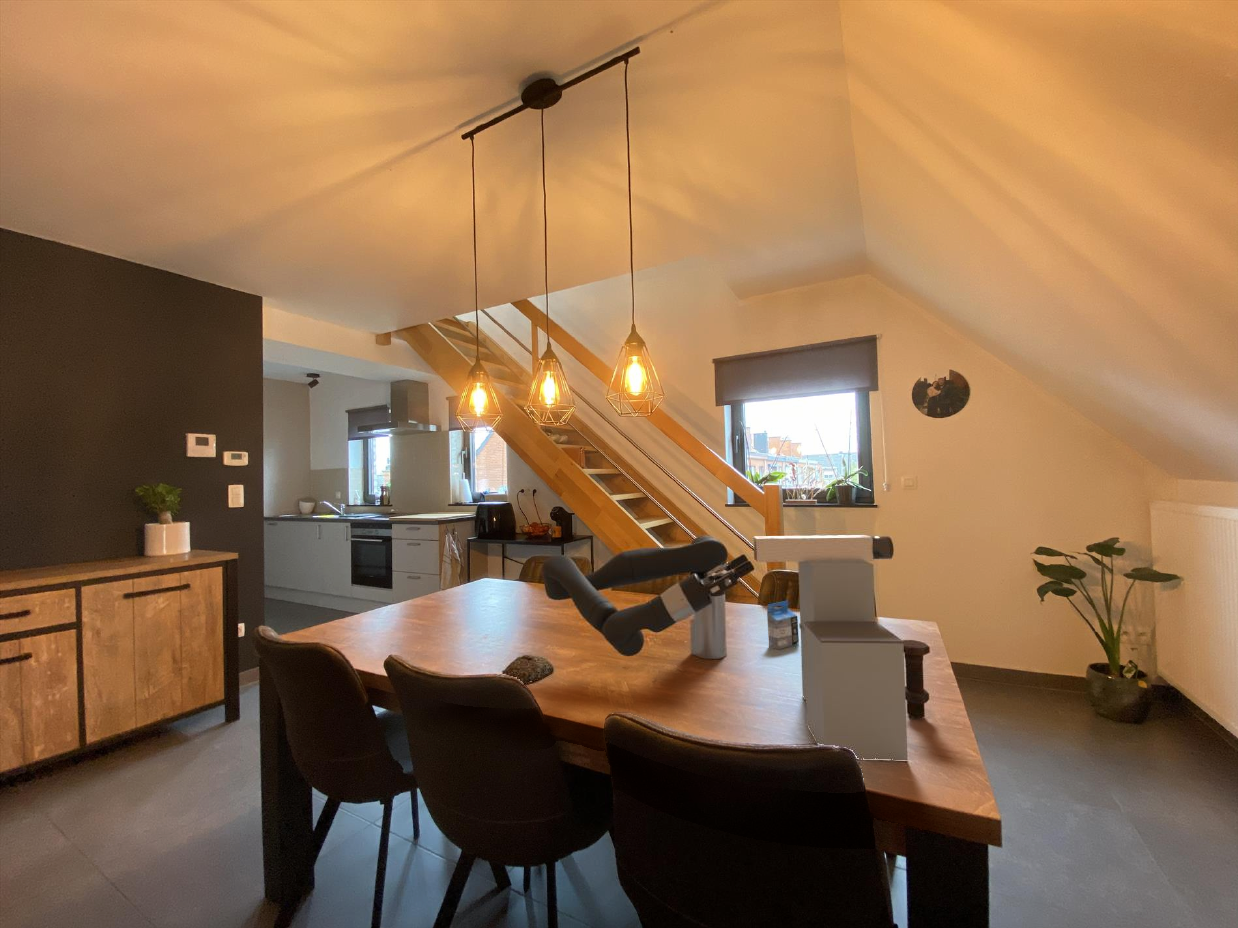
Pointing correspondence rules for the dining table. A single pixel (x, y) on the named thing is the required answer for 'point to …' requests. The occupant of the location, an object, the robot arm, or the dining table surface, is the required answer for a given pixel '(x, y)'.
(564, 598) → the robot arm
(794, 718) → the dining table surface
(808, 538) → the knob shaft
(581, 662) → the dining table surface
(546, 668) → the dark brown domed lump
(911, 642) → the bolt
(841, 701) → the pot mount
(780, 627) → the label tape box
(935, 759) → the dining table surface
